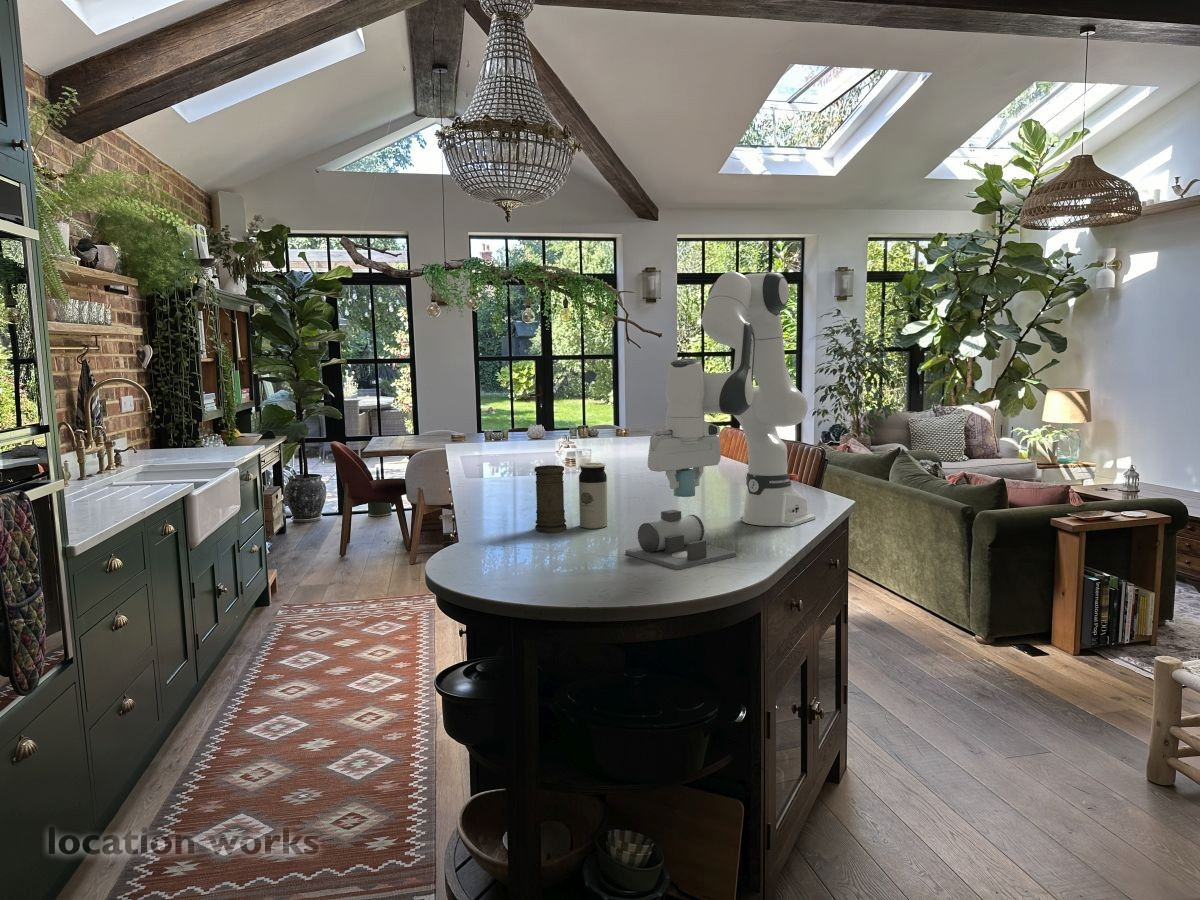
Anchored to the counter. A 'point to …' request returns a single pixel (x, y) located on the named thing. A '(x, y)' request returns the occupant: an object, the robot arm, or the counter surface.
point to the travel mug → (593, 495)
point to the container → (550, 499)
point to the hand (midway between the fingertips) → (684, 487)
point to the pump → (685, 483)
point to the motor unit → (676, 542)
